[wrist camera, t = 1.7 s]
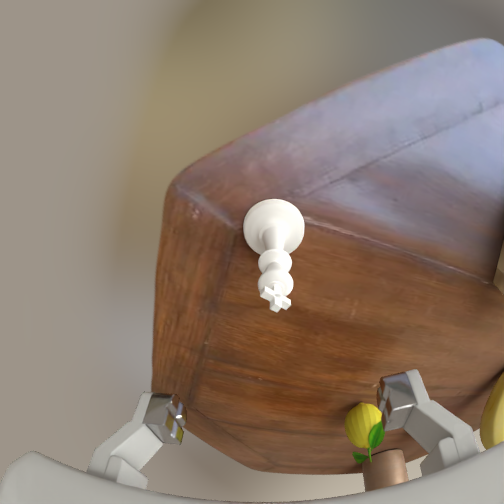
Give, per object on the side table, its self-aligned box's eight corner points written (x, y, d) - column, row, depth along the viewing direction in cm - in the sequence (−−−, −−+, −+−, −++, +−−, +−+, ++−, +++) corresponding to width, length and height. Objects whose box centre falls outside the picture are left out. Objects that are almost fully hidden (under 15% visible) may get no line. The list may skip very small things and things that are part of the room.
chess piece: (265, 186, 22) (262, 249, 13) (316, 220, 23) (342, 297, 14) (232, 235, 24) (211, 316, 15) (281, 264, 25) (285, 351, 17)
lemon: (347, 418, 38) (355, 473, 29) (331, 405, 36) (338, 466, 27) (386, 401, 36) (400, 457, 27) (374, 386, 34) (389, 449, 25)
